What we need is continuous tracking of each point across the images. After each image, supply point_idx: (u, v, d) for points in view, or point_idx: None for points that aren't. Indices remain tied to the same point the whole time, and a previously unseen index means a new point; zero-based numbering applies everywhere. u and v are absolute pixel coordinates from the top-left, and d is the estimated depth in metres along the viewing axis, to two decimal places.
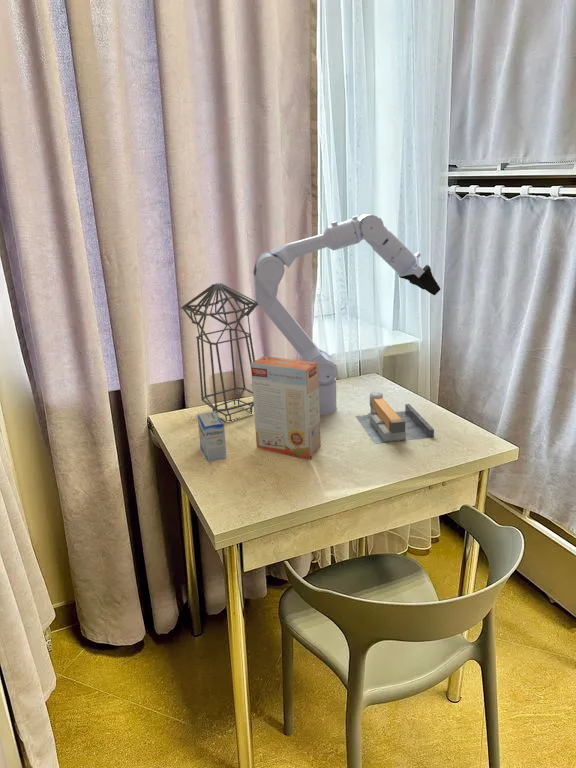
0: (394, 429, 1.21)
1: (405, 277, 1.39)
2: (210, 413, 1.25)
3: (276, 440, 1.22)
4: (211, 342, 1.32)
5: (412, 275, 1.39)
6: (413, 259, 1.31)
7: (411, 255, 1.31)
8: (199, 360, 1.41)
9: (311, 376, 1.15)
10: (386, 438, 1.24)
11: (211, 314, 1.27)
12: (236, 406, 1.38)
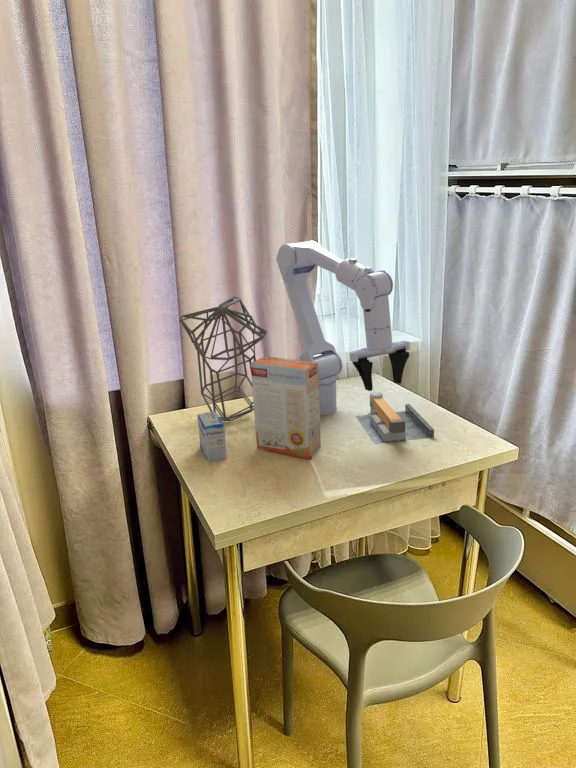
0: (394, 429, 1.21)
1: (390, 356, 1.26)
2: (210, 413, 1.25)
3: (276, 440, 1.22)
4: (212, 369, 1.23)
5: (394, 362, 1.25)
6: (374, 347, 1.20)
7: (377, 343, 1.20)
8: (199, 365, 1.33)
9: (311, 376, 1.15)
10: (386, 438, 1.24)
11: (212, 358, 1.15)
12: (235, 416, 1.36)
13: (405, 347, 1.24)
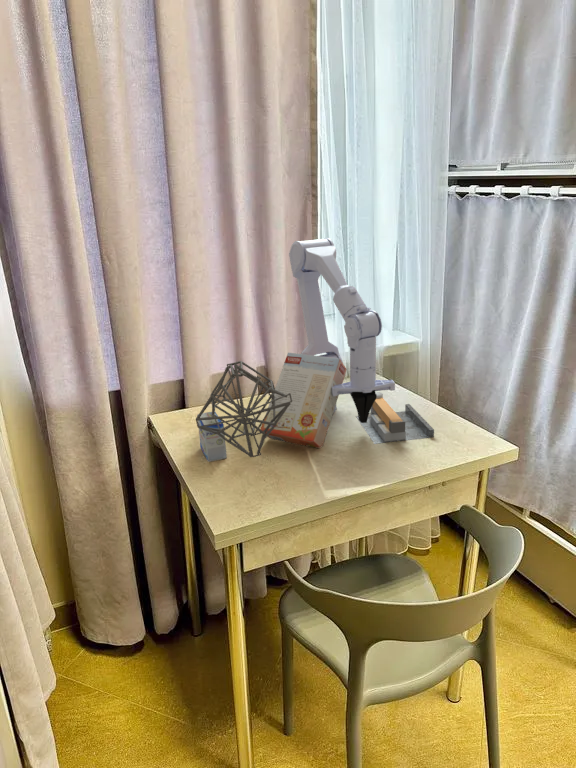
0: (394, 429, 1.21)
1: None
2: (210, 413, 1.25)
3: (285, 421, 1.24)
4: (213, 408, 1.19)
5: None
6: (355, 385, 1.23)
7: (357, 382, 1.22)
8: None
9: (340, 370, 1.27)
10: (386, 438, 1.24)
11: (199, 428, 1.11)
12: (223, 411, 1.36)
13: (390, 387, 1.25)
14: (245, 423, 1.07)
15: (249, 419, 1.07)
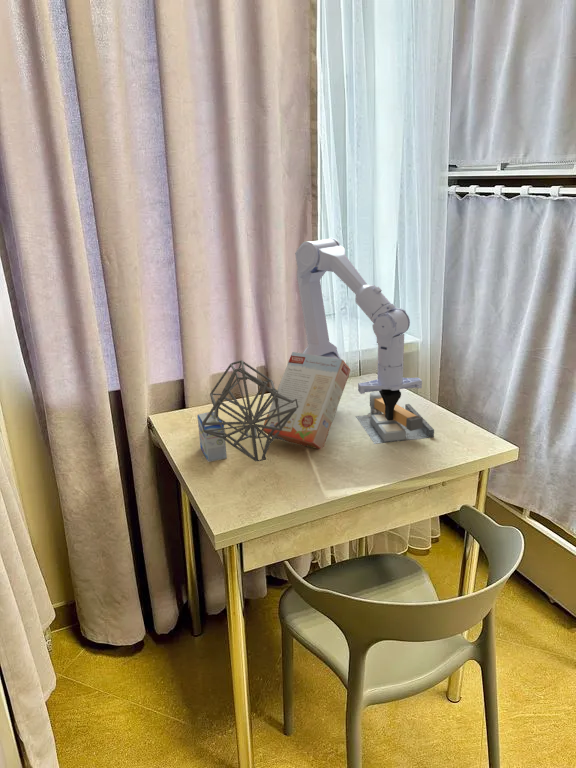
0: (413, 426, 1.22)
1: None
2: None
3: None
4: (217, 411, 1.18)
5: None
6: (383, 383, 1.23)
7: (385, 379, 1.23)
8: None
9: (343, 371, 1.26)
10: (386, 438, 1.24)
11: (205, 432, 1.11)
12: (222, 410, 1.36)
13: (417, 385, 1.26)
14: (253, 429, 1.08)
15: (257, 426, 1.07)
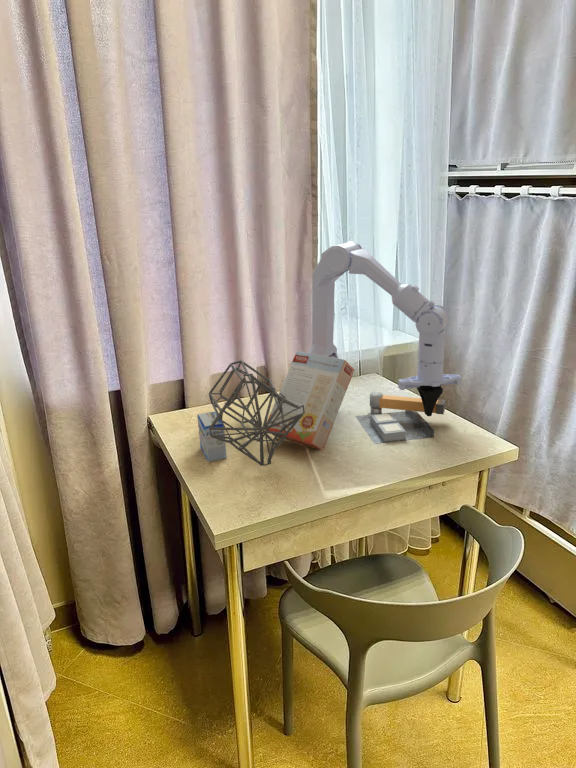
0: (443, 410, 1.30)
1: None
2: (210, 413, 1.25)
3: (287, 422, 1.24)
4: (221, 414, 1.18)
5: None
6: (423, 379, 1.25)
7: (425, 376, 1.24)
8: None
9: (345, 371, 1.24)
10: (386, 438, 1.24)
11: (212, 437, 1.11)
12: None
13: (456, 381, 1.27)
14: (262, 436, 1.08)
15: (266, 432, 1.08)
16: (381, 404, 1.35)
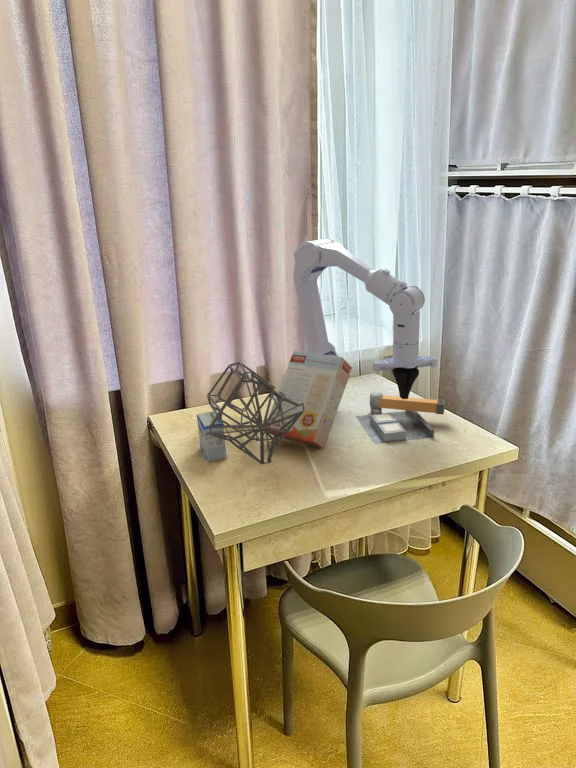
0: (443, 409, 1.30)
1: None
2: (209, 413, 1.25)
3: (287, 421, 1.24)
4: (221, 413, 1.18)
5: None
6: (398, 361, 1.23)
7: (400, 357, 1.23)
8: None
9: (344, 369, 1.25)
10: (386, 438, 1.24)
11: None
12: None
13: (432, 364, 1.26)
14: (262, 433, 1.08)
15: (266, 429, 1.08)
16: (381, 404, 1.35)
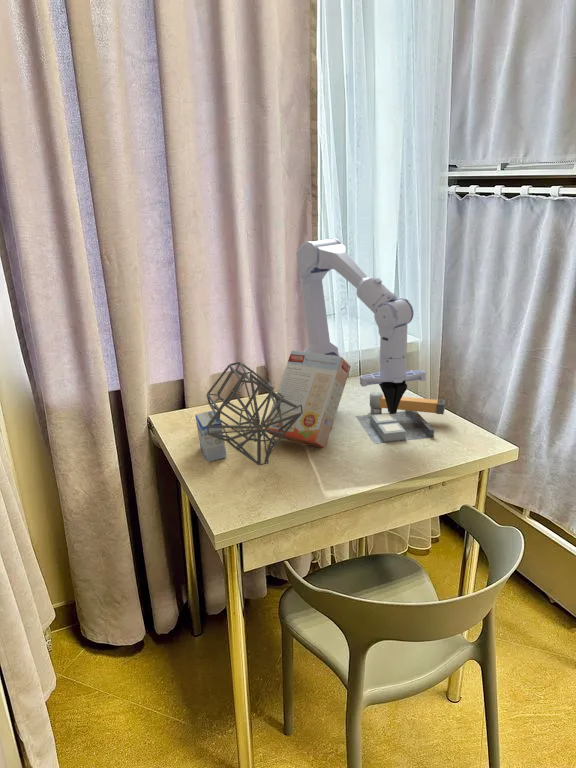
0: (443, 409, 1.30)
1: None
2: (208, 413, 1.24)
3: (288, 421, 1.24)
4: (219, 413, 1.18)
5: None
6: (385, 375, 1.20)
7: (387, 372, 1.19)
8: (236, 375, 1.24)
9: (343, 368, 1.25)
10: (386, 438, 1.24)
11: (209, 434, 1.11)
12: None
13: (420, 377, 1.22)
14: (259, 434, 1.08)
15: (264, 430, 1.08)
16: (381, 404, 1.35)
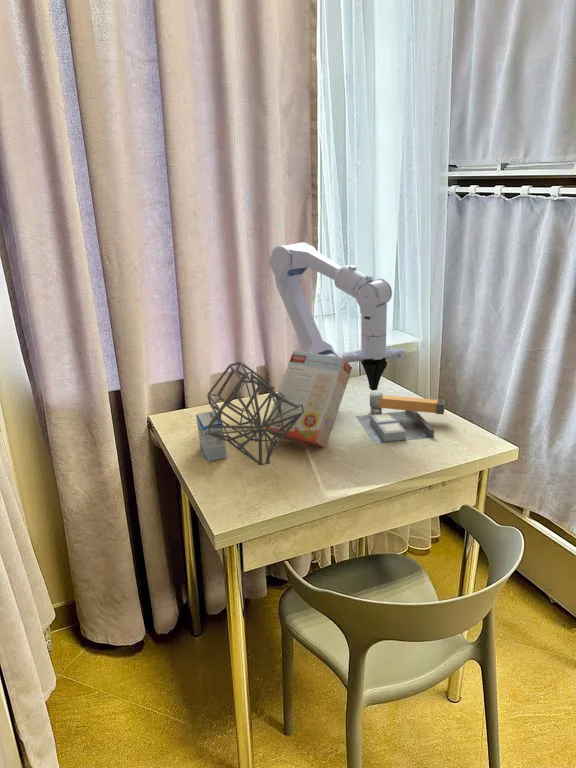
0: (443, 409, 1.30)
1: None
2: (209, 413, 1.24)
3: None
4: (220, 413, 1.18)
5: None
6: (366, 353, 1.26)
7: (368, 349, 1.25)
8: (237, 375, 1.24)
9: (345, 369, 1.25)
10: (386, 438, 1.24)
11: (211, 435, 1.11)
12: None
13: (400, 355, 1.28)
14: (260, 434, 1.08)
15: (265, 430, 1.08)
16: (381, 404, 1.35)
